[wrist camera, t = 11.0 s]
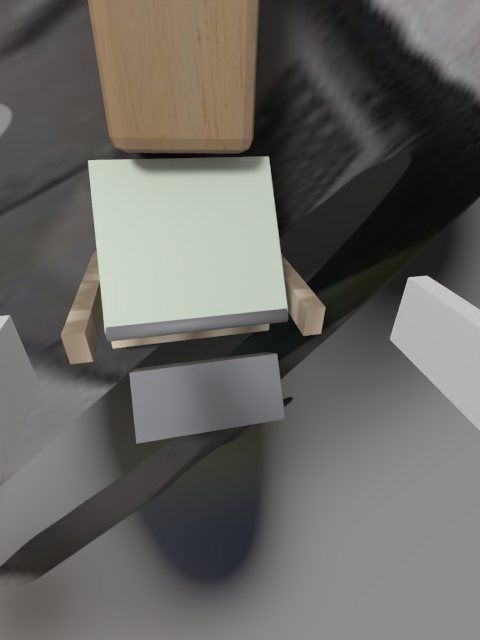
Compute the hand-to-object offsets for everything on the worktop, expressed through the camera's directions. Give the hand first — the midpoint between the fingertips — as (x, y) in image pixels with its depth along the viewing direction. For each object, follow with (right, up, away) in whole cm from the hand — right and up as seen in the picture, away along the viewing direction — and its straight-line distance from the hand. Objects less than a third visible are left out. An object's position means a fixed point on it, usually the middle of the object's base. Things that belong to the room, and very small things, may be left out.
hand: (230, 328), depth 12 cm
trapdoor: (-4, +2, +18) cm, 18 cm away
